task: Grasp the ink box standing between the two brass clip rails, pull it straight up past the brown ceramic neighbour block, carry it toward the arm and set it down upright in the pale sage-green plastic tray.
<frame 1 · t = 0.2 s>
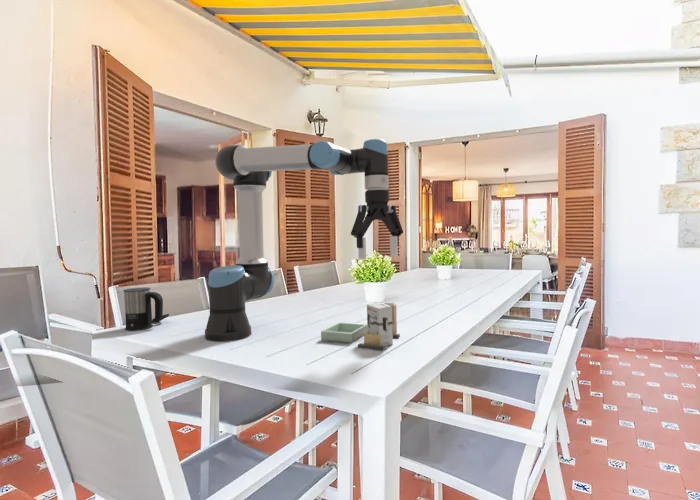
hand: (378, 257, 135), 26 cm above the table, fingers open, 13 cm apart
milk frother: (147, 326, 163), on the table
tray: (345, 336, 141), on the table
clip rails: (379, 342, 133), on the table
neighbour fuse: (389, 334, 142), on the table
ink box: (379, 343, 133), on the table
holder base: (379, 342, 133), on the table
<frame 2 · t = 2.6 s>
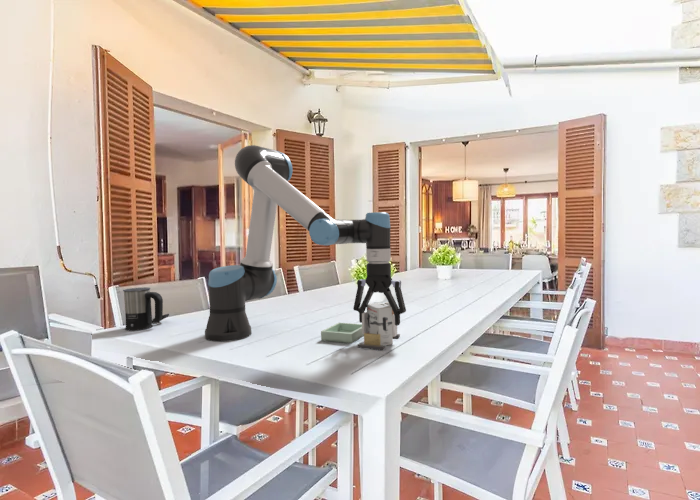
hand: (379, 334, 133), 3 cm above the table, fingers closed on ink box, 9 cm apart
ink box: (379, 343, 133), on the table, touching gripper
everything else where it was.
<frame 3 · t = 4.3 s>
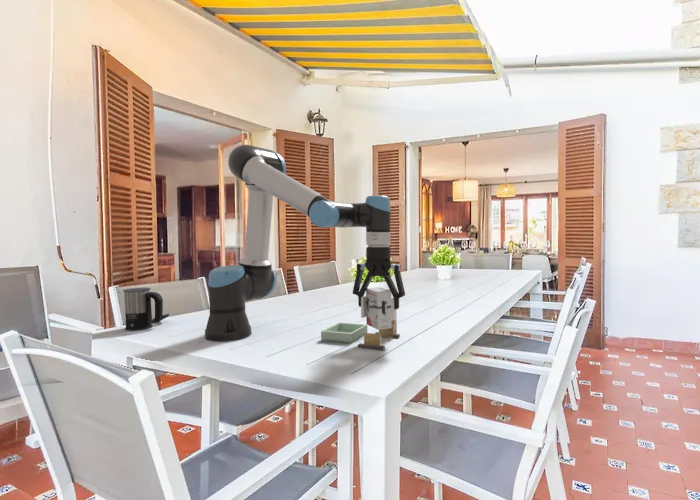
hand: (378, 318, 133), 8 cm above the table, fingers closed on ink box, 9 cm apart
ink box: (378, 327, 133), point 5 cm above the table, touching gripper
everything else where it was.
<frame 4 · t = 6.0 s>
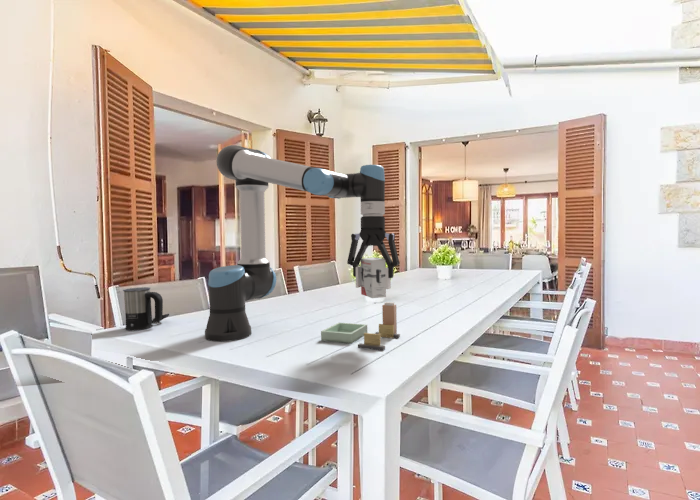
hand: (373, 287, 133), 17 cm above the table, fingers closed on ink box, 9 cm apart
ink box: (373, 296, 134), point 14 cm above the table, touching gripper
everything else where it was.
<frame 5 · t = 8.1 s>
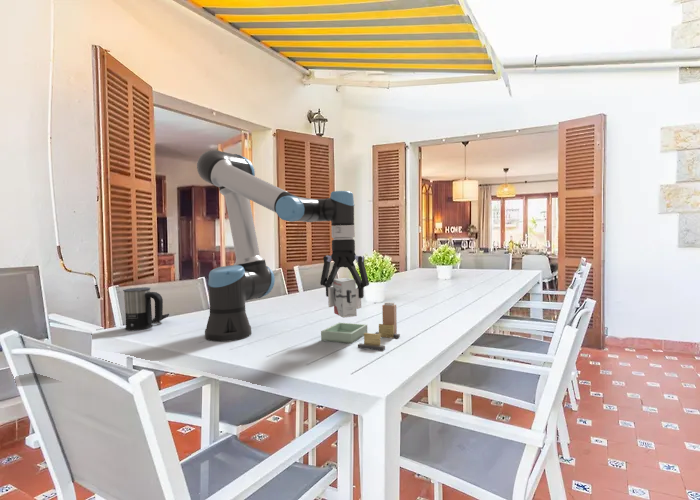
hand: (344, 307, 140), 10 cm above the table, fingers closed on ink box, 9 cm apart
ink box: (345, 315, 140), point 7 cm above the table, touching gripper
everything else where it was.
when the fingers open (6 cm above the table, at t = 9.4 s): ink box stays where it is, resting on tray.
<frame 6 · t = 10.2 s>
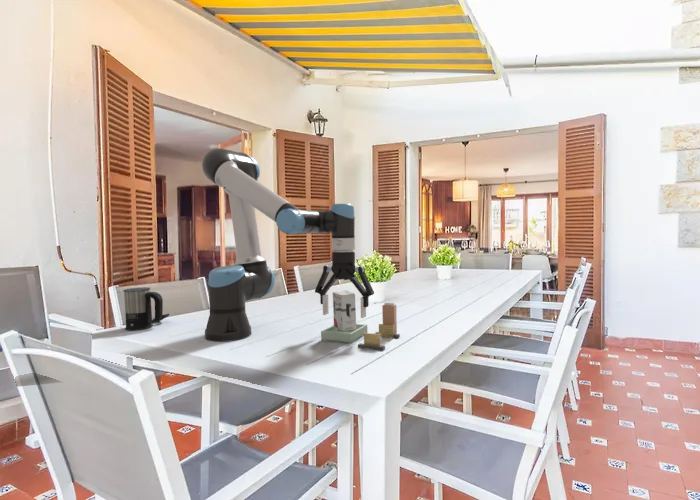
hand: (344, 315, 140), 7 cm above the table, fingers open, 13 cm apart
ink box: (344, 328, 140), point 3 cm above the table, touching tray
everything else where it was.
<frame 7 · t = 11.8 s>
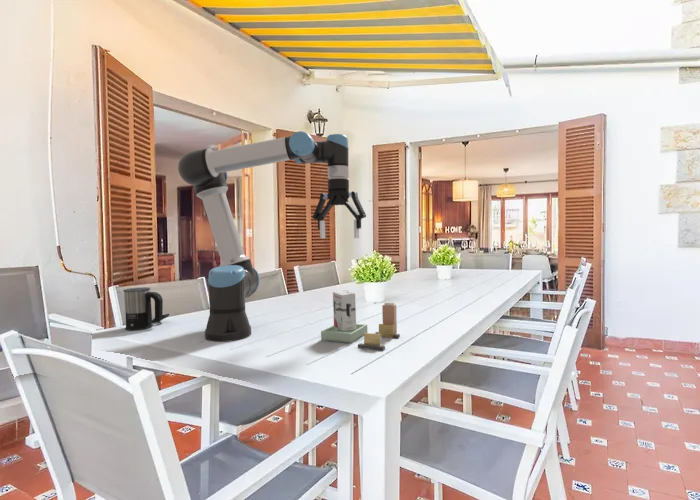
hand: (339, 238, 154), 32 cm above the table, fingers open, 13 cm apart
nothing on the table moved.
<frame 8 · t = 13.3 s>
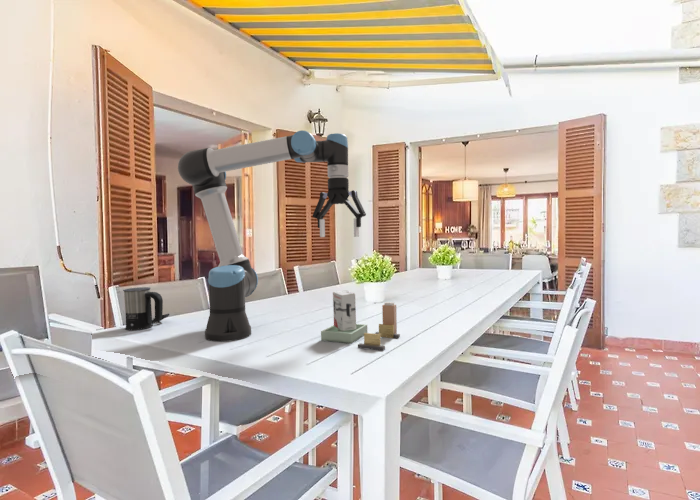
hand: (339, 236, 155), 33 cm above the table, fingers open, 13 cm apart
nothing on the table moved.
at the end: ink box inside the target area on the tray (0.1 cm from its centre), point 2.8 cm above the tray's base; ink box tilted 0°; the gripper is holding nothing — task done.
